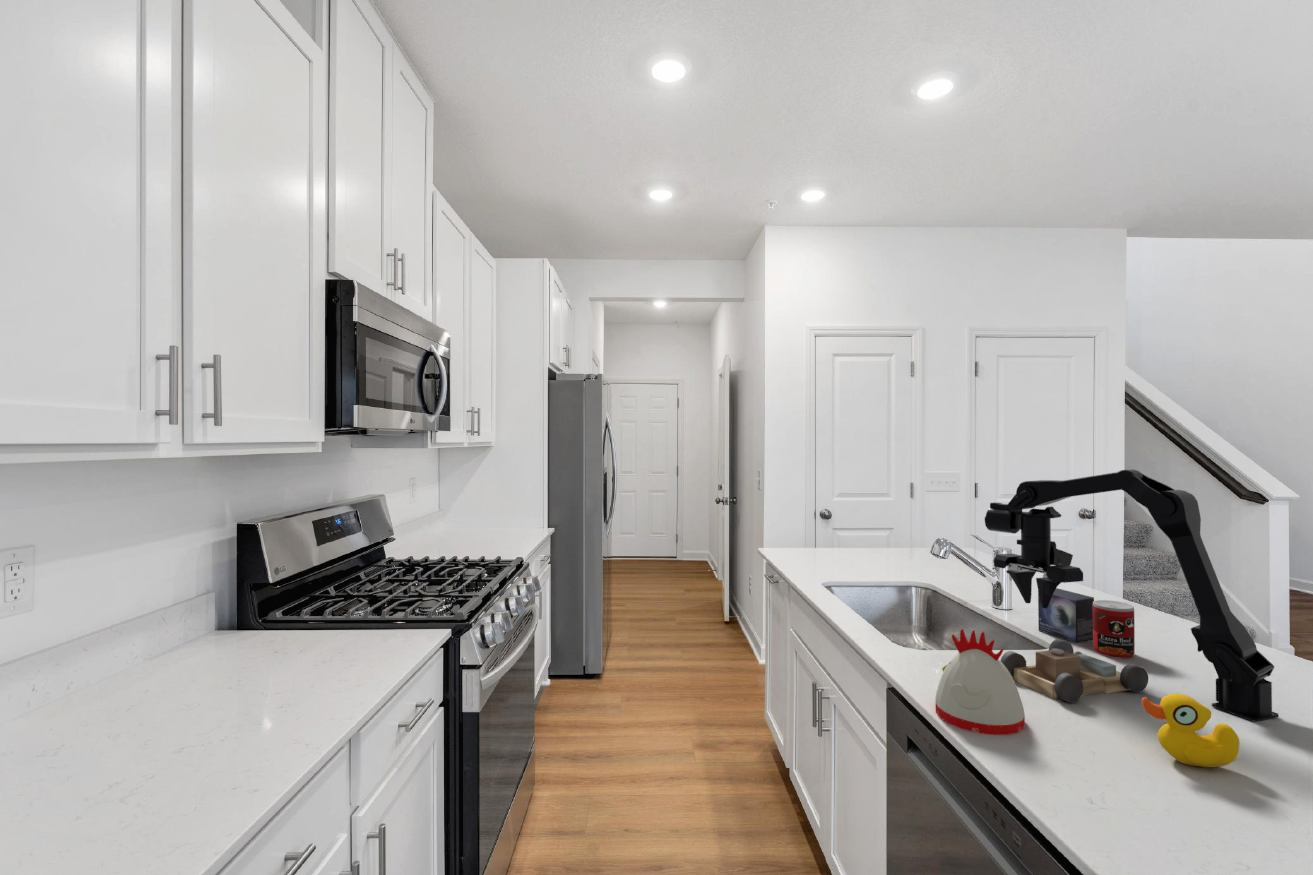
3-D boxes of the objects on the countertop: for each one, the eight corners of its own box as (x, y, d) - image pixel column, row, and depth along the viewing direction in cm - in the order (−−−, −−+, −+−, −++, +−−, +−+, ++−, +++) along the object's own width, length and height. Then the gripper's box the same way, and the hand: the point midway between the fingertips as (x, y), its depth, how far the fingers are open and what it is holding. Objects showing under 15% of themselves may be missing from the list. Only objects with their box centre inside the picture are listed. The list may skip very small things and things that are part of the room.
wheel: (1073, 663, 134) (1073, 640, 134) (1056, 665, 133) (1055, 642, 133) (1065, 660, 136) (1065, 638, 136) (1048, 662, 135) (1048, 640, 135)
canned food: (1095, 655, 140) (1095, 606, 140) (1090, 645, 147) (1090, 598, 147) (1138, 661, 136) (1137, 610, 136) (1130, 650, 143) (1130, 602, 143)
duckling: (1147, 763, 93) (1147, 696, 93) (1137, 747, 98) (1136, 683, 98) (1246, 780, 88) (1245, 709, 88) (1230, 762, 93) (1229, 695, 93)
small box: (1036, 630, 158) (1035, 589, 158) (1055, 628, 160) (1055, 587, 160) (1075, 643, 148) (1075, 599, 148) (1095, 640, 150) (1095, 597, 150)
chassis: (1148, 692, 119) (1148, 665, 119) (1063, 705, 114) (1062, 677, 114) (1079, 666, 133) (1079, 642, 133) (1000, 676, 127) (999, 652, 128)
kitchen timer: (947, 694, 119) (946, 615, 119) (1030, 713, 110) (1029, 629, 111) (925, 719, 108) (924, 633, 109) (1015, 743, 100) (1014, 649, 100)
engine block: (1080, 687, 121) (1080, 652, 121) (1056, 690, 119) (1055, 655, 119) (1059, 678, 125) (1059, 645, 125) (1035, 682, 124) (1035, 647, 124)
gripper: (1102, 540, 134) (1103, 613, 134) (1029, 529, 152) (1029, 593, 152) (1062, 543, 131) (1062, 618, 131) (991, 531, 149) (992, 596, 149)
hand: (1036, 605), depth 141 cm, fingers open, 4 cm apart
